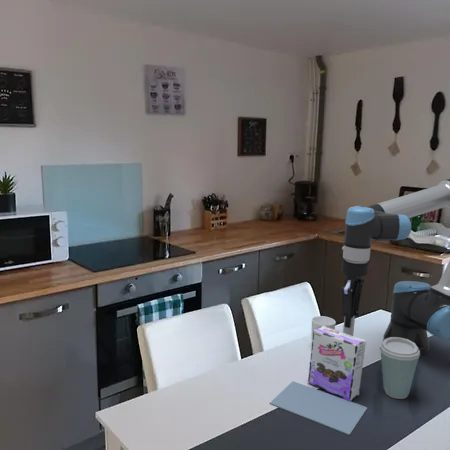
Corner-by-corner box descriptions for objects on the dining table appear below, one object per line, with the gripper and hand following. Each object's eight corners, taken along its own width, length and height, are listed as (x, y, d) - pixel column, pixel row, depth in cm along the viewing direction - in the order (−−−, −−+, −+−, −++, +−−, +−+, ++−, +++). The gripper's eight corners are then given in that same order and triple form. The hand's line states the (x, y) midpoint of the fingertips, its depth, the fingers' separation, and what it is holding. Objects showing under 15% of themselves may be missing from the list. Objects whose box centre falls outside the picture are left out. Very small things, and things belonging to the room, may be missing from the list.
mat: (292, 382, 135) (292, 381, 135) (367, 408, 123) (367, 407, 122) (269, 403, 123) (269, 402, 123) (349, 435, 111) (349, 434, 111)
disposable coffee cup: (417, 406, 124) (423, 355, 121) (375, 399, 127) (380, 349, 124) (413, 387, 134) (419, 339, 131) (374, 380, 137) (379, 333, 134)
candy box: (306, 382, 134) (312, 329, 131) (317, 376, 138) (323, 324, 136) (350, 402, 125) (356, 344, 122) (359, 394, 129) (366, 339, 127)
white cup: (315, 340, 163) (317, 314, 161) (336, 347, 158) (339, 319, 156) (306, 348, 156) (307, 321, 154) (327, 355, 152) (329, 327, 150)
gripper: (350, 253, 140) (343, 326, 145) (334, 262, 130) (327, 339, 134) (375, 258, 136) (367, 332, 141) (361, 267, 126) (352, 347, 130)
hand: (347, 336), depth 137 cm, fingers closed
